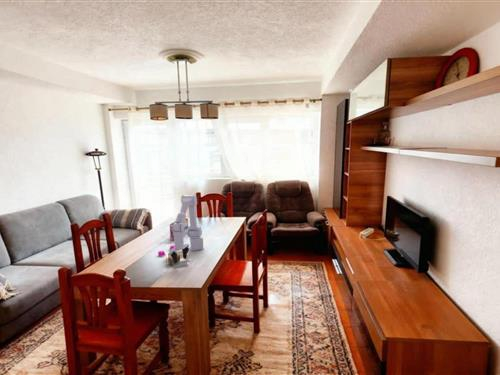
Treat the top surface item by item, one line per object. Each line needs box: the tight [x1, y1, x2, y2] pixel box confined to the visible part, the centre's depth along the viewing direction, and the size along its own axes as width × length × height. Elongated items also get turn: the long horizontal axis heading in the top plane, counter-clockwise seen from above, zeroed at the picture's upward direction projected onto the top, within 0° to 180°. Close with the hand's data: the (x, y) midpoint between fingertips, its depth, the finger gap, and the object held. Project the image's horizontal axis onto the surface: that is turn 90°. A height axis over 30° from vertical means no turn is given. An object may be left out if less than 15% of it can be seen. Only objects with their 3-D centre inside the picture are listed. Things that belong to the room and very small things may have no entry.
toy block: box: [157, 244, 175, 257], centre depth 202 cm, size 15×6×8 cm, turn 154°
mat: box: [172, 261, 189, 269], centre depth 178 cm, size 9×7×1 cm
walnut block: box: [167, 255, 180, 266], centre depth 181 cm, size 4×4×7 cm
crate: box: [165, 250, 189, 265], centre depth 187 cm, size 14×10×4 cm
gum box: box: [169, 218, 189, 240], centre depth 237 cm, size 22×7×13 cm, turn 167°
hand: (180, 260), depth 177 cm, fingers open, 7 cm apart
